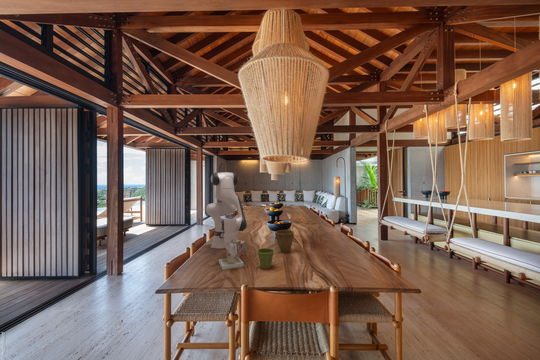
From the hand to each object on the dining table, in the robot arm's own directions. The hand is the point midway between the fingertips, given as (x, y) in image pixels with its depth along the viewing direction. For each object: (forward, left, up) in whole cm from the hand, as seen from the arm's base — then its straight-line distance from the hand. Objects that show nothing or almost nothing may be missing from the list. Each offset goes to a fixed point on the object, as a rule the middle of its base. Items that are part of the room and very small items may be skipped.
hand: (230, 258), depth 165 cm
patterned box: (-18, +9, -5) cm, 21 cm away
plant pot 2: (-13, +48, -5) cm, 50 cm away
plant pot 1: (+13, +21, -5) cm, 25 cm away
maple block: (0, 0, -2) cm, 2 cm away
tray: (0, 0, -5) cm, 5 cm away
